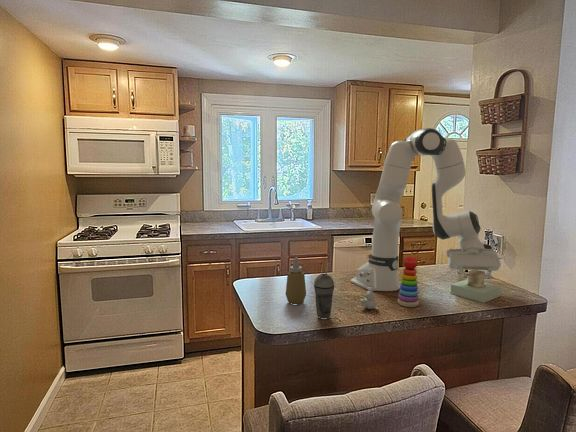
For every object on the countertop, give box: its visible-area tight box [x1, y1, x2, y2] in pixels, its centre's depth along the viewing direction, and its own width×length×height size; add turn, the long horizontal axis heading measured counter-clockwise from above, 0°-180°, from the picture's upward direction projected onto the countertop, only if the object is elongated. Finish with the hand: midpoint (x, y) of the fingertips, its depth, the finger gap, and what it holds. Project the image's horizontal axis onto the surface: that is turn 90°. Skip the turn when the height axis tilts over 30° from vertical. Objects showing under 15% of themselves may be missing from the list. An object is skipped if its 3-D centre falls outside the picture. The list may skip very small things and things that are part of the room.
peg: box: [467, 269, 486, 289], centre depth 162 cm, size 4×4×10 cm
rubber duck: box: [360, 289, 378, 310], centre depth 146 cm, size 5×7×8 cm
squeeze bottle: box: [285, 257, 307, 305], centre depth 151 cm, size 8×8×18 cm
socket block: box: [450, 278, 502, 304], centre depth 163 cm, size 14×14×4 cm
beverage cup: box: [313, 261, 335, 319], centre depth 137 cm, size 7×7×20 cm
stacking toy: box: [397, 256, 420, 308], centre depth 151 cm, size 8×8×19 cm
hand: (476, 277), depth 162 cm, fingers open, 8 cm apart
